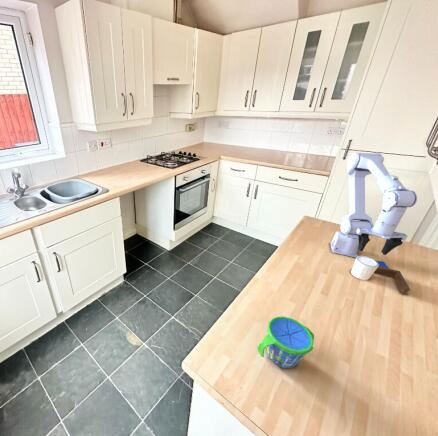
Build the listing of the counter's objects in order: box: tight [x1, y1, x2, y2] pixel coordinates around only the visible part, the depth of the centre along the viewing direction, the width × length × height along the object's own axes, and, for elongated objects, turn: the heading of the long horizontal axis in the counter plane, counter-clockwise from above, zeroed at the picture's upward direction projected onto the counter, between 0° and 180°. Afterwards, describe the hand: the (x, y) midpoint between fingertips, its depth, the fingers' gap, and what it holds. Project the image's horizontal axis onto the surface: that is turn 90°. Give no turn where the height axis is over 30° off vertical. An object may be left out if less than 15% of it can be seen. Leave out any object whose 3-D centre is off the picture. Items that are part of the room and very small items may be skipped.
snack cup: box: [256, 315, 315, 369], centre depth 66 cm, size 16×10×10 cm
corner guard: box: [373, 266, 411, 296], centre depth 92 cm, size 8×11×3 cm
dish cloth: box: [374, 259, 389, 268], centre depth 100 cm, size 8×7×1 cm
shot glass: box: [351, 255, 379, 281], centre depth 94 cm, size 7×7×7 cm
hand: (371, 251), depth 95 cm, fingers open, 7 cm apart
